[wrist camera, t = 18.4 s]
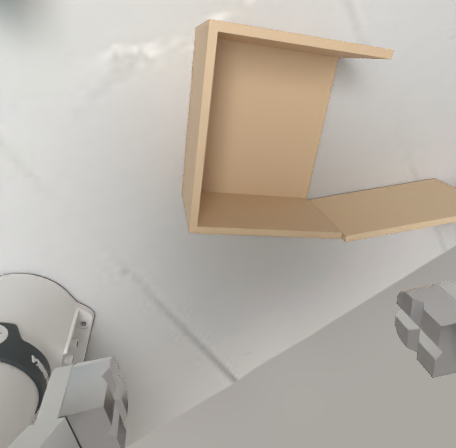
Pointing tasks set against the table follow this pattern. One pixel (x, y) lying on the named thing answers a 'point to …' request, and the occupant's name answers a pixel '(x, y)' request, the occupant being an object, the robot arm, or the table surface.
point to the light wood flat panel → (390, 209)
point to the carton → (258, 129)
